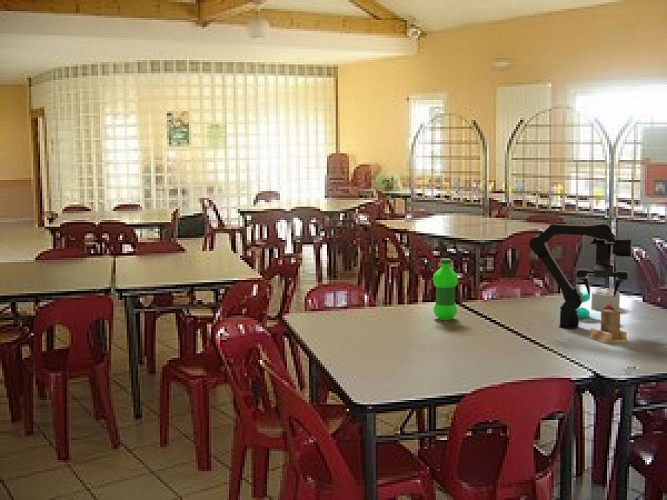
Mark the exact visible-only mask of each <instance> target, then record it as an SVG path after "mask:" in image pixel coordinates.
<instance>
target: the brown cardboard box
mask: <svg viewBox="0 0 667 500" xmlns="http://www.w3.org/2000/svg"><path fill="white" fill-rule="evenodd" d="M600 317H601V318H600V330H601V331H605V332H608V333H611V334H612V340H619V336H620V330H621V328H620V327H621V312H620V311H618V310H617V311H614V310H610V309H607V310H601V311H600Z"/></svg>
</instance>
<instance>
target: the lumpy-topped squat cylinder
mask: <svg viewBox="0 0 667 500" xmlns="http://www.w3.org/2000/svg"><path fill="white" fill-rule="evenodd" d="M614 289H615V288H608V287H606V288H604V289H602V288H600V287H598V288H595V291H593V292H591V303H590V304H591V307H590V309H591V310H593V311H600V312H601V310H602V309H603V308H604V307H606V306H607V305H608V304H610V306H612V307H613V308H614V309H615V311H617V312H618V311H619V310H620V303H621V302H620V300H621V299H620V298H621V293H620V292H619V291H618V290H617V292H616V295H615V297H614Z"/></svg>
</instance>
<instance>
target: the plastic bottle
mask: <svg viewBox="0 0 667 500" xmlns="http://www.w3.org/2000/svg"><path fill="white" fill-rule="evenodd" d="M451 259H452V258H444V257H443V258H440V264H441V267H440V268H439V269H438V270H437V271H435V272H434V273H433V278H432V280H433V285H434V286H435V303H434V306H433V313H434V315H435V316H436V317H437V319H438V320H441V321H451V320H452V319H453V318H455V317H456V315H457V313H458V308H457V305H456V301H455V300H456V299H455V298H456V287H457V285H458V283H459V277H458V274H457V273H456V271H454V269H452V268H451V267H450V265H451V264H452V260H451Z"/></svg>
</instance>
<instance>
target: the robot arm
mask: <svg viewBox="0 0 667 500" xmlns="http://www.w3.org/2000/svg"><path fill="white" fill-rule="evenodd" d="M555 235H568V236H569V235H574V236H575V235H576V236H587V237H590V238H591V237H592V238H593V240H592V241H590V245H595V251H594V265H593V270H589V268H580V267H579V268H578V269H577V270H576V275H575V276H576V278H579V280H581V281H583V283H584V285H585V288H586V291H587V292H586V293H588V295H589V296H590V297H591V286H590V285H591V284H590V283H591V282H590V277H593V276H594V278H596V279H597V278H603V279H607V278H616V279H615V284H614V288H613V289H614V297H615V295H616V292H617V291H618V288H619V287H620V285H621V283H623V282H624V283H625V281H627V280H629V276H630V275H629V271H628V270H624V269H623V270H620V269H618V270H617V272H616V271H614V269H615V268H614V264H612V262H611V260H612V254H613V255H615V257H618V258H620V257H622V258H632V253H633V252H632V251H633V247H632V238H626V239H622V238H617V237H616V235H615V234H614V233H613V227H612V226H611V224H609V223H607V222H601V223H600V222H599V223H594V224H586V225H585V224H562V223H561V224H560V223H559V224H558V223H552V224H550V225H549V226H548V227H547V229H545V230H544V231H543V232H542V233H540V234H538V235H535V236H534V237H532V238H531V239H530V240H529V243H528V246H529V248H530V250H531V251H532V252H533V253H534V254H535V255H536V256H537V257H539V259H541V260H542V262H543V263H544V265H545V267H546V268H547V270H548V271H549V273H550V275H551V277H552V278H553V279H554V281H555V282H556V284H557V285H558V287H559V289H560V290H561V293H562V297H563V299H564V302H563V303H561V306H560V307H559V309H560V312H559V325H558V328H563V329H564V328H565V329H577V328H578V327H579V324H580V318H579V315H577V314H578V311H575V310H576V309H577V308H579V307H581V306H582V304H583V303H584V302H583V297H582V295H583V294H582V293H581V292H582V291H580V288H579V286H578V285H576V286H574V285H572V284H571V283H570V282H569V280H568V278H567V277H566V275H565V273H564V272H563V271H562V269H561V268H560V265H559V264H558V262H557V261H556V259H555V258H554V256H553V255H552V253H551V250H550V247H549V244H548V242H549V240H550V239H552V238H553V237H554V236H555Z"/></svg>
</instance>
